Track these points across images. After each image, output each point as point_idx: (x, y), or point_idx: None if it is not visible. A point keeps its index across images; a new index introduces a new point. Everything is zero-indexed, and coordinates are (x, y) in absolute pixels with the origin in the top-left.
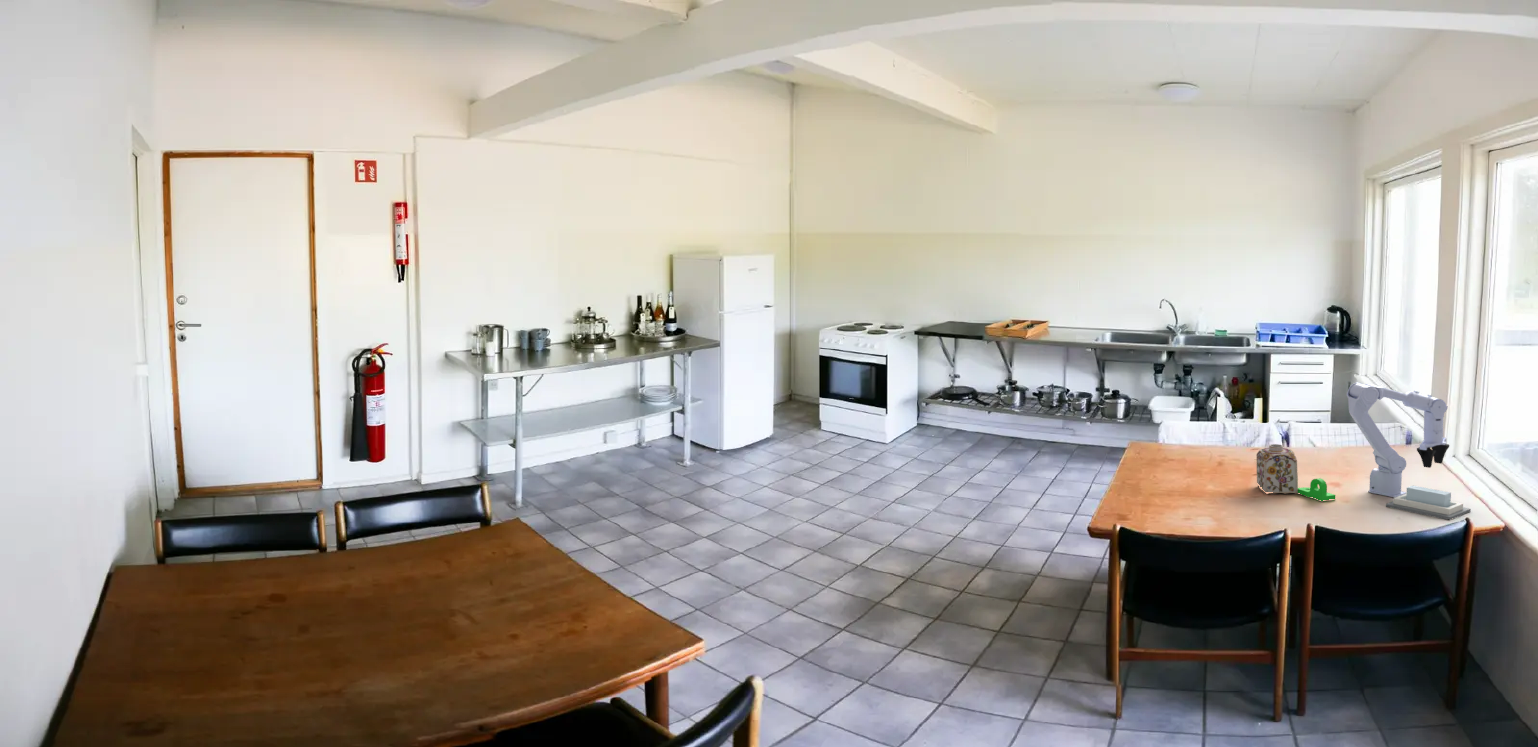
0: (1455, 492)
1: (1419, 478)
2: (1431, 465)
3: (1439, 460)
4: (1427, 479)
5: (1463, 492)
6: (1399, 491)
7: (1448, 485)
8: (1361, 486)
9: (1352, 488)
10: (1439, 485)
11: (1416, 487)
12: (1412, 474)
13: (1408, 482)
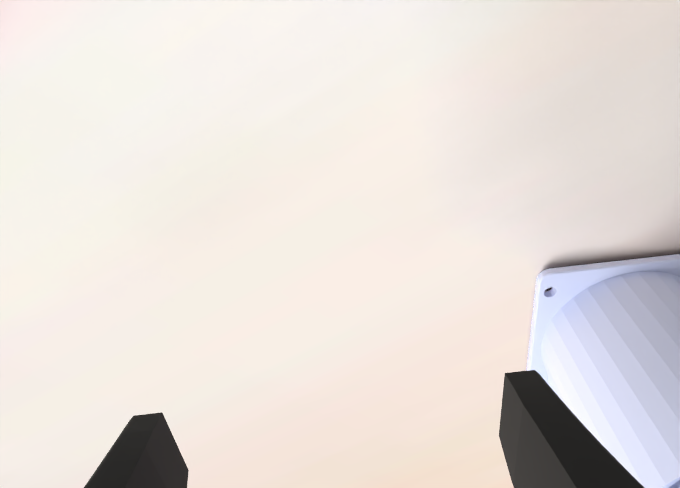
0: (147, 73)
1: (62, 427)
2: (518, 396)
3: (156, 477)
4: (28, 395)
5: (71, 25)
6: (660, 287)
7: (7, 241)
8: None
9: None
10: (81, 275)
11: None
12: (26, 484)
13: (219, 409)
